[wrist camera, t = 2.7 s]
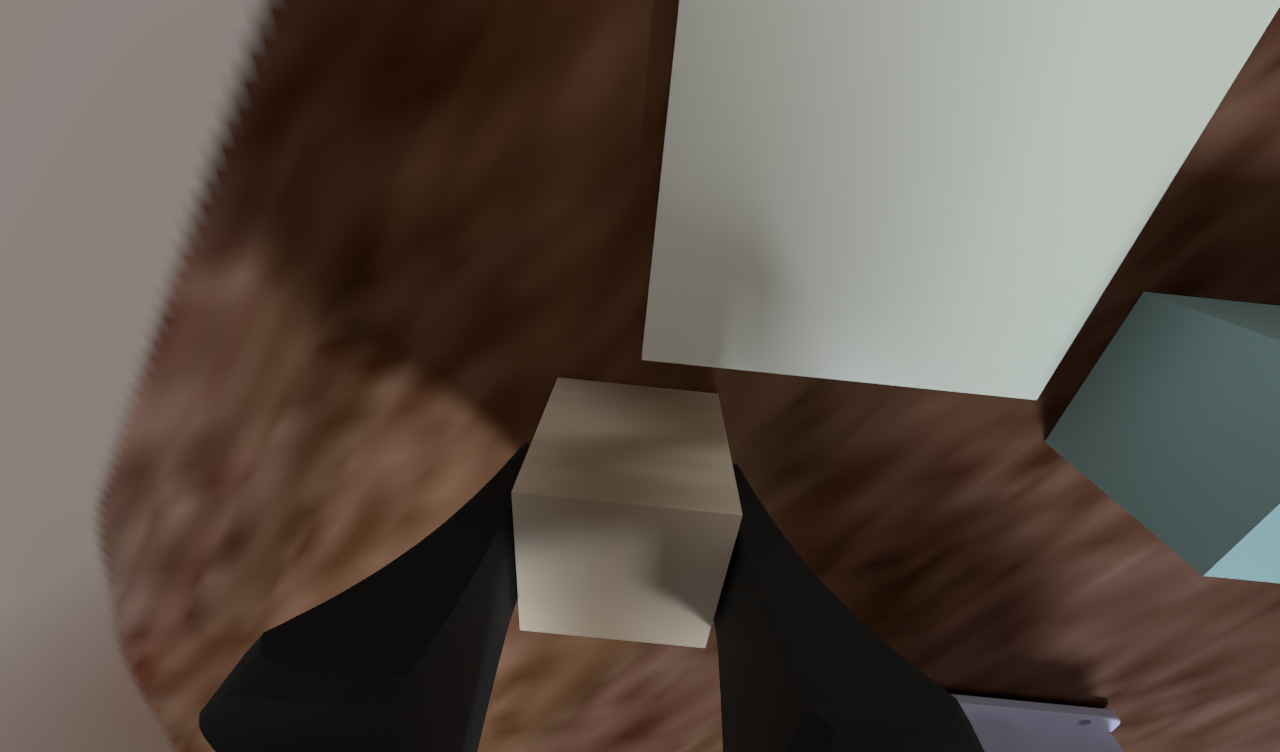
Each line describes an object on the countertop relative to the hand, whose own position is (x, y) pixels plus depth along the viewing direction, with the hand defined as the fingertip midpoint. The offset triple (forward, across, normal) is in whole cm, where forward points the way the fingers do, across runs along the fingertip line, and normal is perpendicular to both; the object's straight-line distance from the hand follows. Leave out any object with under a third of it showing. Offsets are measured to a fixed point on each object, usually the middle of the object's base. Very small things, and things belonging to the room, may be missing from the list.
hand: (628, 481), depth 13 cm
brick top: (+2, -14, -4) cm, 15 cm away
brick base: (+1, 0, 0) cm, 1 cm away
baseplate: (+1, -5, -8) cm, 10 cm away
